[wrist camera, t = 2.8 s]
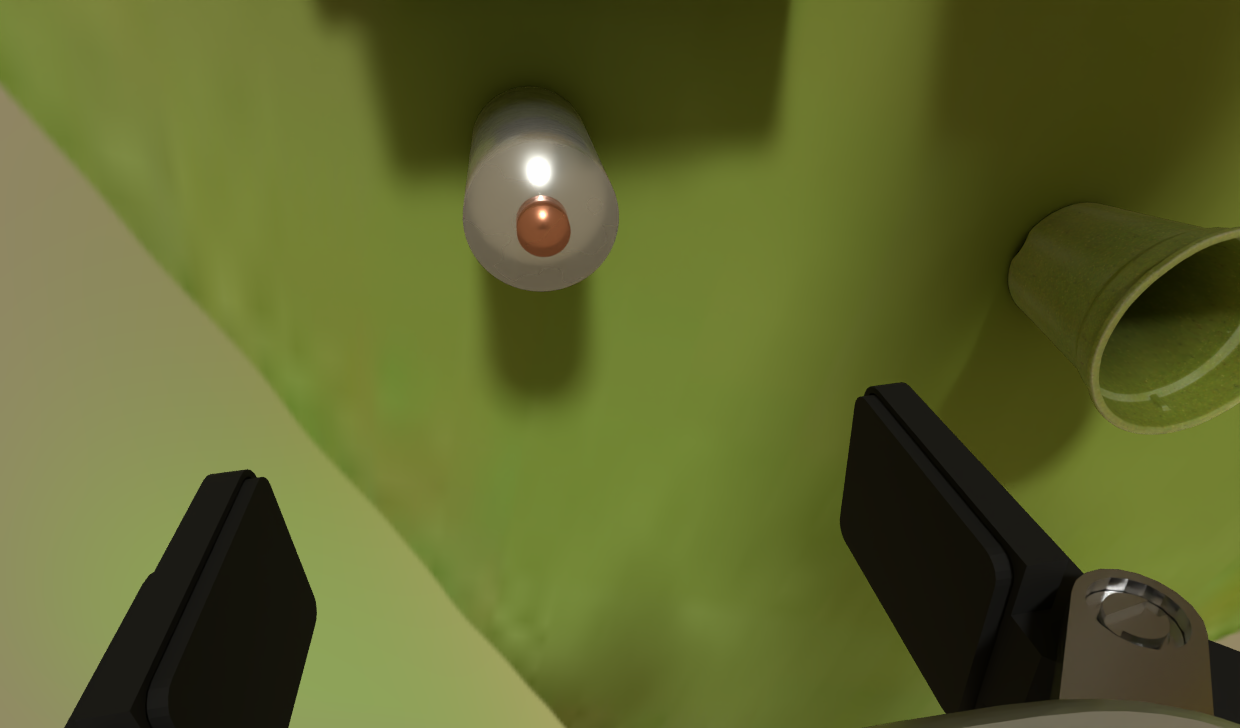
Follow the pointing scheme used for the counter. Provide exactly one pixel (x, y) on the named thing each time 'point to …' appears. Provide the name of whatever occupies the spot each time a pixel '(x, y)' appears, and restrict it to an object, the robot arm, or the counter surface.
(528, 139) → the spout can
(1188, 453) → the counter surface
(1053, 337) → the plant pot
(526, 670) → the counter surface
